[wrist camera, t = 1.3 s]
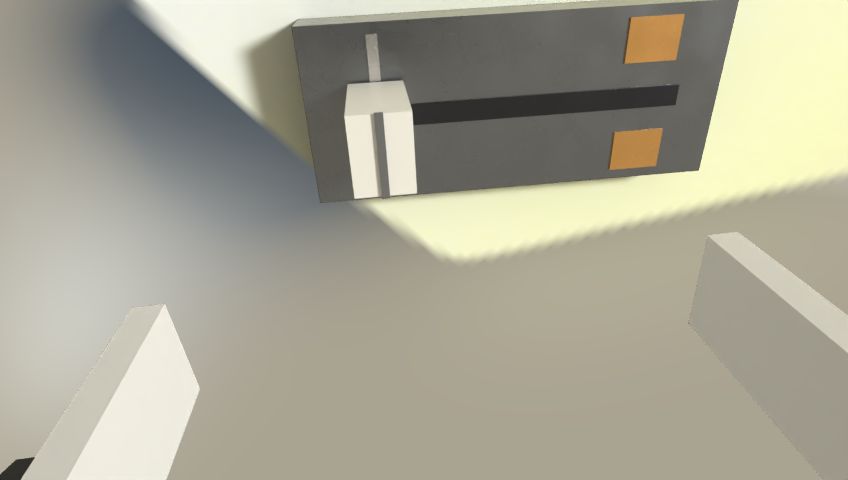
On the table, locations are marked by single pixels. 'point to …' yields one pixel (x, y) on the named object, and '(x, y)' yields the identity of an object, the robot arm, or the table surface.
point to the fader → (380, 139)
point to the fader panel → (523, 89)
